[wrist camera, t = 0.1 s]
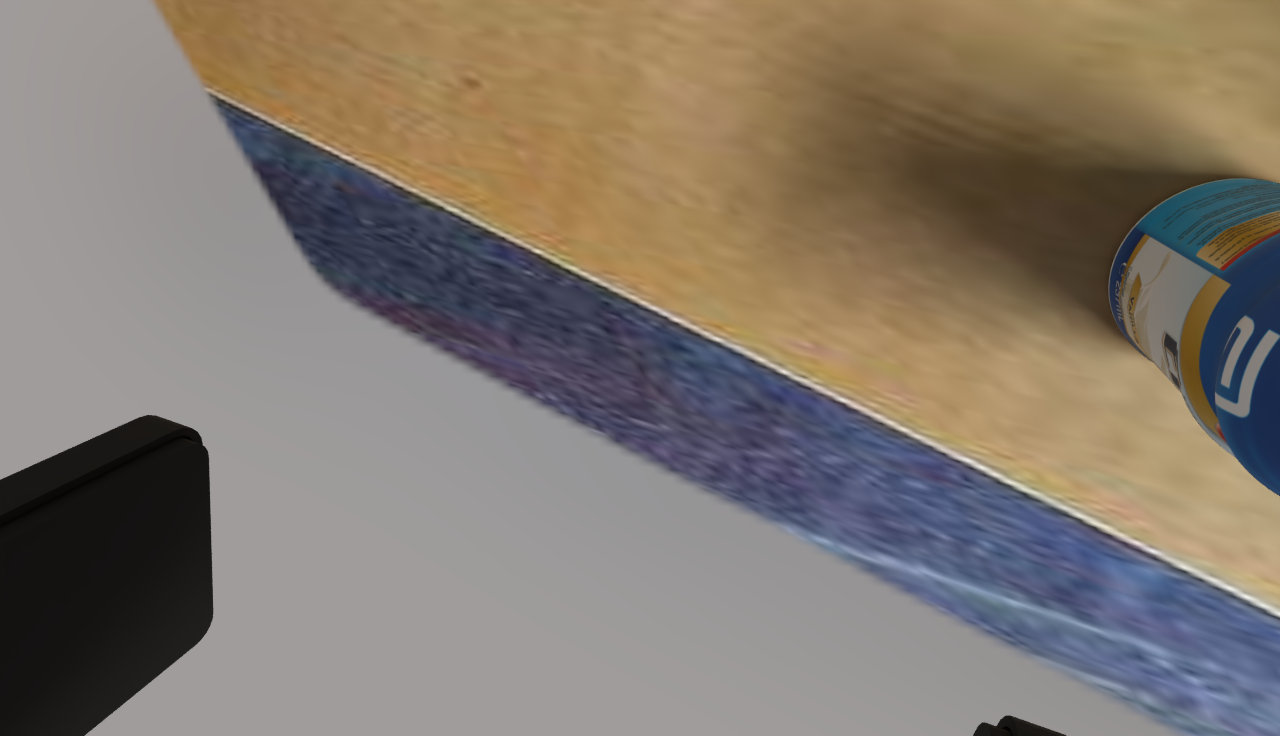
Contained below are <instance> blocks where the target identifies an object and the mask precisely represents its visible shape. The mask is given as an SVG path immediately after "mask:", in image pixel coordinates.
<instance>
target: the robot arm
mask: <svg viewBox="0 0 1280 736" xmlns="http://www.w3.org/2000/svg"><path fill="white" fill-rule="evenodd" d="M210 516H211V515H210V481H209V455H208V451H207V449H206V448H205V447H204V446H203V443H202V439H201V436H200V435H199V433H198V432H197V431H196V430H194V429H192V428H190V427H187V426H184V425H181V424H178V423H175V422H172V421H170V420H167V419H164V418H161V417H158V416H152V415H146V416H143V417H139V418H137V419H135V420H133V421H130V422H128V423H126V424H124V425H122V426H119V427H117V428H115V429H112V430H110V431H108V432H106V433H104V434H101V435H99V436H97V437H95V438H92V439H90V440H88V441H86V442H83V443H81V444H79V445H77V446H75V447H72V448H70V449H68V450H66V451H64V452H61V453H59V454H57V455H55V456H52V457H50V458H48V459H46V460H43V461H41V462H39V463H37V464H34V465H32V466H30V467H28V468H26V469H24V470H21V471H19V472H17V473H14V474H12V475H10V476H8V477H6V478H3V479H1V480H0V736H85V735H86V734H87V733H88V732H89V731H91V730H92V729H93V728H94V727H96V726H97V725H98V724H99V723H101V722H102V721H103V720H104V719H105V718H107V717H108V716H109V715H110V714H112V713H113V712H114V711H115V710H117V709H118V708H119V707H120V706H121V705H123V704H124V703H125V702H126V701H127V700H129V699H130V698H131V697H132V696H134V695H135V694H136V693H137V692H138V691H140V690H141V689H142V688H144V687H145V686H146V685H147V684H148V683H150V682H151V681H152V680H153V679H155V678H156V677H157V676H158V675H160V674H161V673H162V672H163V671H164V670H166V669H167V668H168V667H169V666H170V665H172V664H173V663H174V662H175V661H177V660H178V659H179V658H180V657H182V656H183V655H184V654H185V653H186V652H187V651H189V650H190V649H191V648H193V647H194V646H195V645H196V644H197V643H198V642H199V641H200V640H201V639H202V638H203V637H204V635H205V634H206V633H207V631H208V629H209V627H210V625H211V621H212V618H213V586H212V552H211V517H210ZM973 736H1066V735H1064V734H1061V733H1058V732H1055V731H1052V730H1050V729H1047V728H1044V727H1041V726H1038V725H1035V724H1033V723H1030V722H1027V721H1024V720H1021V719H1018V718H1016V717H1013V716H1005V717H1003V718H1002V719H1001V720H1000V721H999V723H998V725H997V726H994V725H991V724H988V723H981V724H980V725H979V726H978V727H977V729H976V731H975V733H974V735H973Z"/></svg>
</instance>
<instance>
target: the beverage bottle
mask: <svg viewBox="0 0 1280 736" xmlns="http://www.w3.org/2000/svg"><path fill="white" fill-rule="evenodd" d="M1108 292H1109V302H1110V307H1111V311H1112V314H1113V317H1114V319H1115V321H1116V323H1117V325H1118V327H1119V329H1120V330H1121V332H1122V333H1123V335H1124V336H1125V337H1126V339H1127V340H1128V341H1129V342H1130V343H1131V344H1132V345H1133V346H1134V347H1135V348H1136V349H1137V350H1138V351H1139V352H1140V353H1141V354H1142V355H1143V356H1145V357H1146V358H1147V359H1149V360H1150V361H1152V362H1153V363H1154V364H1155V365H1156V366H1157V367H1158V368H1159V369H1160V370H1161V371H1162V372H1163V373H1164V375H1165V376H1166V377H1167V378H1168V379H1169V380H1170V381H1171V382H1172V383H1173V384H1174V385H1175V387H1176V388H1177V389H1178V390H1179V391H1180V392H1181V393H1182V395H1183V398H1184V400H1185V402H1186V405H1187V407H1188V408H1189V410H1190V412H1191V414H1192V415H1193V417H1194V418H1195V420H1196V421H1197V422H1198V424H1199V425H1200V426H1201V427H1202V429H1203V430H1204V431H1205V432H1206V433H1207V434H1208V435H1209V436H1210V437H1211V438H1212V439H1213V440H1214V441H1215V442H1216V443H1217V444H1219V445H1220V446H1221V447H1222V448H1223V449H1225V450H1226V451H1227V452H1229V453H1230V454H1231V455H1233V456H1234V457H1236V458H1237V459H1238V461H1239V462H1240V463H1241V464H1242V465H1243V467H1244V468H1245V469H1246V470H1247V471H1248V472H1249V473H1250V474H1251V475H1252V476H1253V477H1254V478H1256V479H1257V480H1258V481H1259V482H1260V483H1262V484H1263V485H1264V486H1266V487H1267V488H1268V489H1270V490H1271V491H1273V492H1274V493H1276V494H1277V495H1279V496H1280V184H1279V183H1275V182H1271V181H1266V180H1260V179H1247V178H1237V179H1225V180H1218V181H1213V182H1208V183H1204V184H1201V185H1197V186H1194V187H1191V188H1189V189H1186V190H1184V191H1182V192H1179V193H1177V194H1175V195H1173V196H1171V197H1170V198H1168V199H1166V200H1165V201H1163V202H1161V203H1160V204H1158V205H1157V206H1156V207H1154V208H1153V209H1152V210H1150V211H1149V212H1148V213H1147V214H1146V215H1144V216H1143V217H1142V218H1141V219H1140V220H1139V221H1138V222H1137V223H1136V224H1135V225H1134V227H1133V228H1132V229H1131V230H1130V232H1129V233H1128V234H1127V236H1126V237H1125V238H1124V240H1123V242H1122V243H1121V245H1120V247H1119V249H1118V251H1117V253H1116V255H1115V258H1114V260H1113V263H1112V267H1111V271H1110V276H1109V285H1108Z"/></svg>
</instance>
